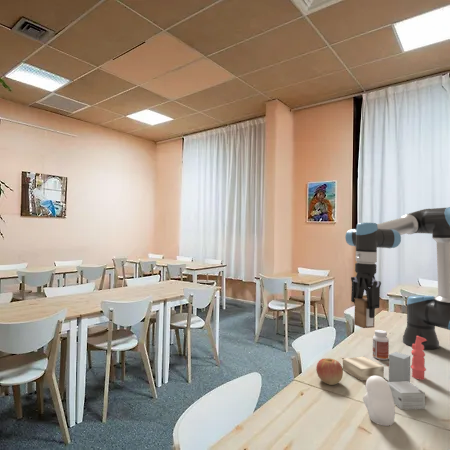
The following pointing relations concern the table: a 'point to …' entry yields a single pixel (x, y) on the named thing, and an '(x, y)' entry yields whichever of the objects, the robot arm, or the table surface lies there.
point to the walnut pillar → (361, 313)
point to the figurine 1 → (379, 401)
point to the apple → (329, 371)
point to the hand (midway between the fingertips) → (364, 323)
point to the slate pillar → (399, 367)
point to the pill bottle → (380, 345)
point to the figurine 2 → (418, 359)
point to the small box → (407, 395)
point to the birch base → (362, 367)
